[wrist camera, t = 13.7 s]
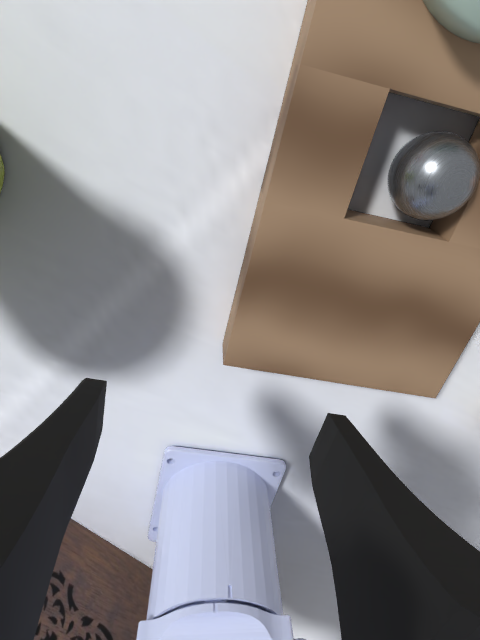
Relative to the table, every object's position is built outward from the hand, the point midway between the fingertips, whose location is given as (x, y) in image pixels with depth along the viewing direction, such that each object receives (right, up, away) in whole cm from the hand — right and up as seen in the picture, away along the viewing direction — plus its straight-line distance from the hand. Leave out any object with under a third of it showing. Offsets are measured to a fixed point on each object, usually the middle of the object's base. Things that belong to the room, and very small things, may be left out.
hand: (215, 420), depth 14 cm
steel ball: (+9, +9, +4) cm, 13 cm away
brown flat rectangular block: (+8, +10, +5) cm, 14 cm away
